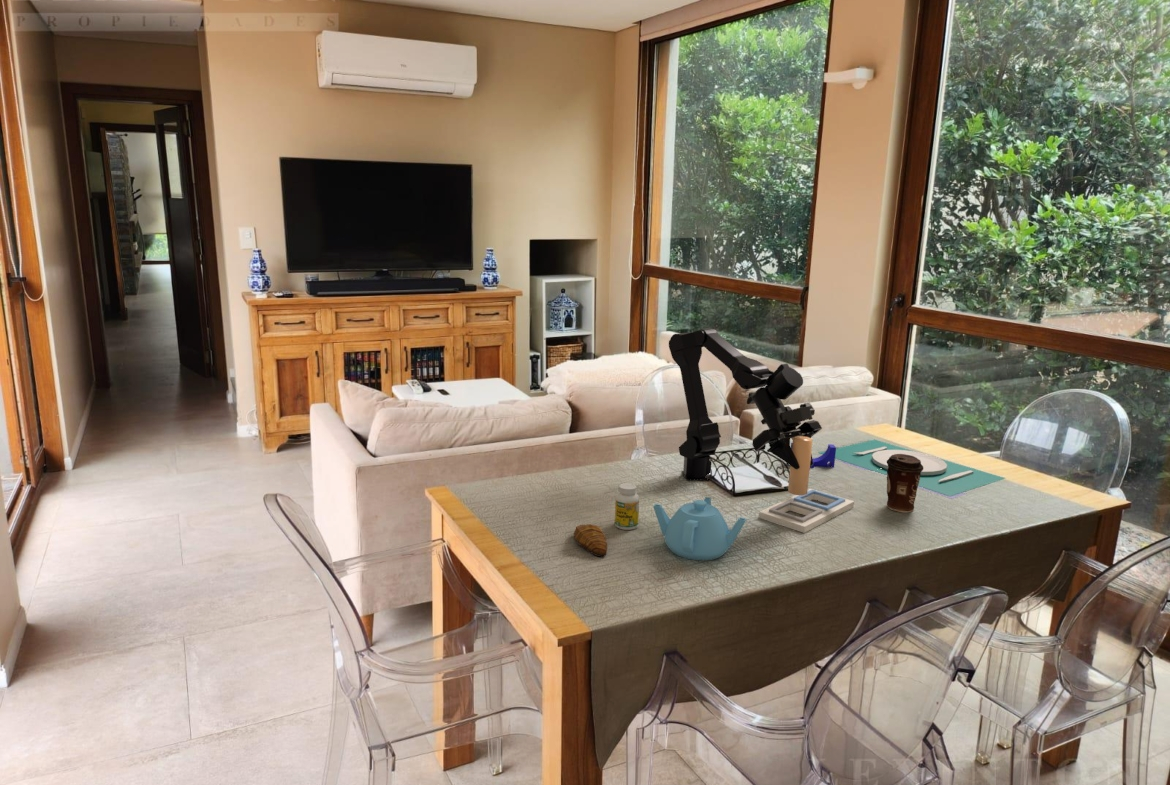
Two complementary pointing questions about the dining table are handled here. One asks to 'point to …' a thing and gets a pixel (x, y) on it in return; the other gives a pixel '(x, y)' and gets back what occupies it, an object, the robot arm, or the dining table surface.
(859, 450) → the place mat
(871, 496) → the dining table surface
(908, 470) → the coffee cup
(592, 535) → the croissant
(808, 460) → the orange plug
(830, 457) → the blue cradle holder
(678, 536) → the teapot
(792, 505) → the socket tray
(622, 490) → the supplement bottle
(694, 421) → the robot arm
